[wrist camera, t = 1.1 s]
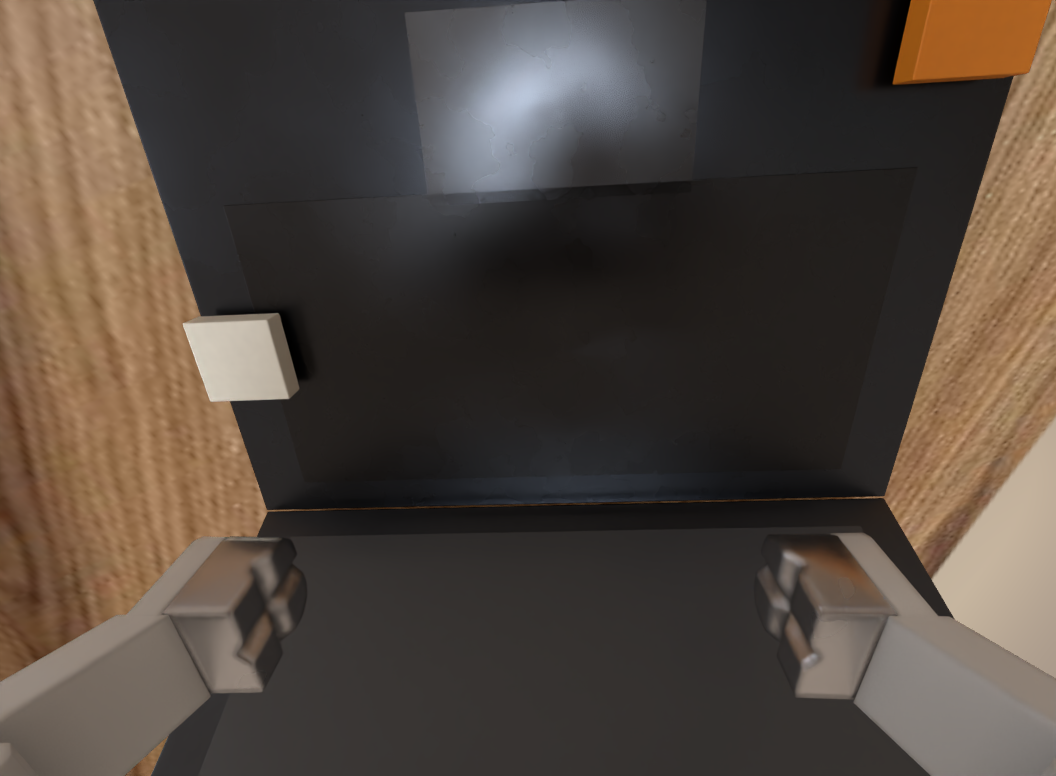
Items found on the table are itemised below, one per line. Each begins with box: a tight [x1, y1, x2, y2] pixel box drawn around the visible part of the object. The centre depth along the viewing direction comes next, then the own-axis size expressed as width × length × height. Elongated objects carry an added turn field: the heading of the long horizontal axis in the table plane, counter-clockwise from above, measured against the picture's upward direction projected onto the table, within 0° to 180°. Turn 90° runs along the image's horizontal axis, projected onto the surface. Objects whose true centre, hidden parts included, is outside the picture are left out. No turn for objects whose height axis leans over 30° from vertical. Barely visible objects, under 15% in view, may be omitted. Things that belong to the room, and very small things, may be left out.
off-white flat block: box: [183, 313, 300, 402], centre depth 20 cm, size 3×3×1 cm
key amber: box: [893, 0, 1052, 85], centre depth 15 cm, size 3×3×1 cm
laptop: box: [93, 0, 1014, 510], centre depth 20 cm, size 21×30×2 cm
